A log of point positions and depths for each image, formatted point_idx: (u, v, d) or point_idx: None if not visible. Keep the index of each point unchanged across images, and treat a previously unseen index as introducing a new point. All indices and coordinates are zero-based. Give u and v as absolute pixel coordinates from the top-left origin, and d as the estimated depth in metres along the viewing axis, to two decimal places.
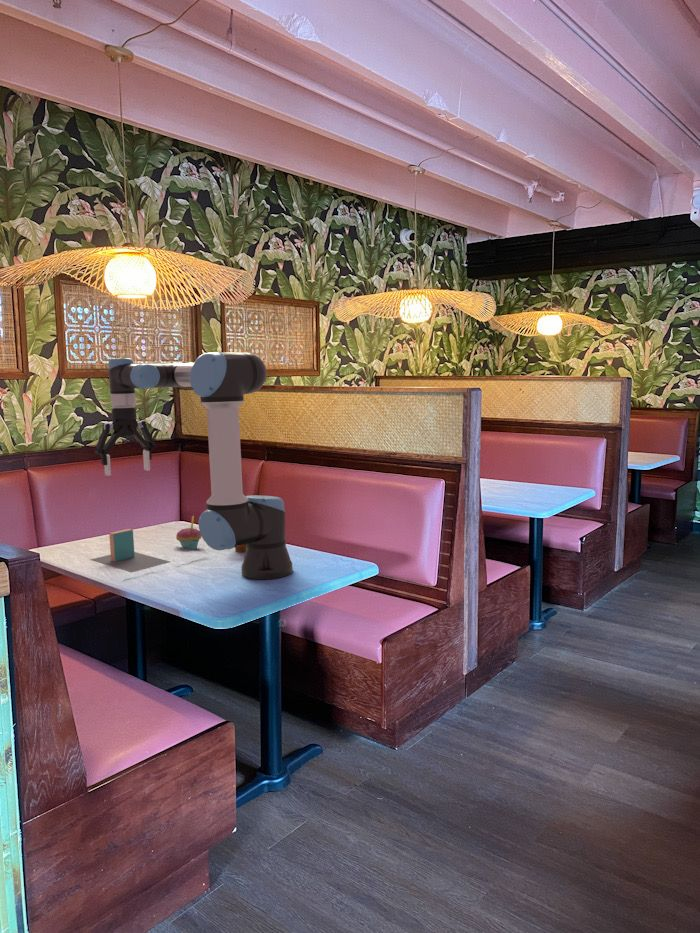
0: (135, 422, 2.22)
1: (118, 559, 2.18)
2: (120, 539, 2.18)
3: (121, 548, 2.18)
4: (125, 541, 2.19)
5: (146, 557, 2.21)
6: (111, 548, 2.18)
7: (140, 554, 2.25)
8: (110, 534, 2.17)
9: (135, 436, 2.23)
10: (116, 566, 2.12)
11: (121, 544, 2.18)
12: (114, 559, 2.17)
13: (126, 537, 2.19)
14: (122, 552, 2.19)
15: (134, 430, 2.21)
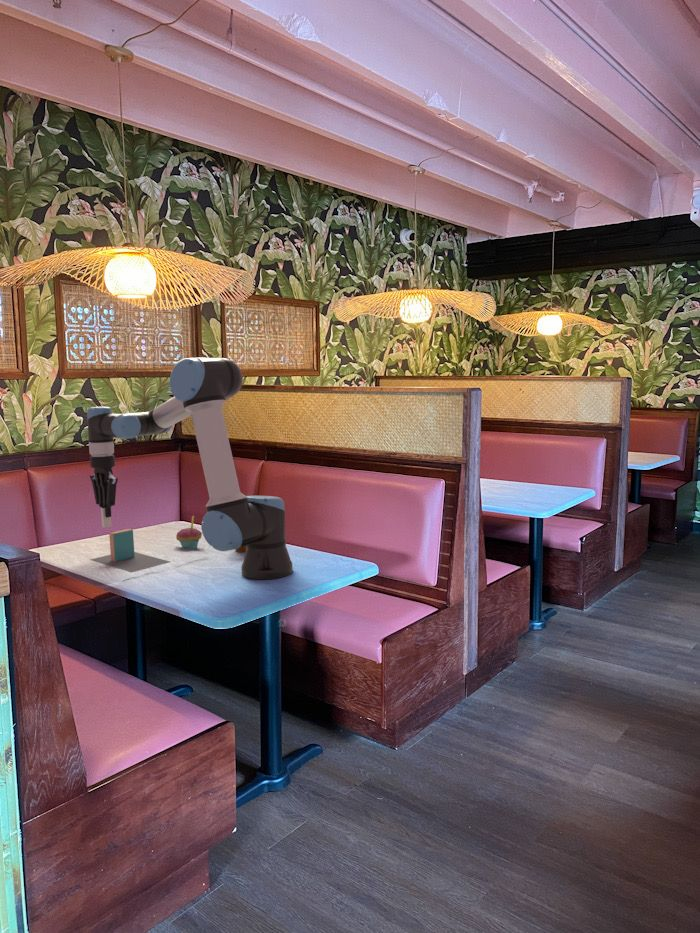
0: (106, 472, 2.19)
1: (118, 559, 2.18)
2: (120, 539, 2.18)
3: (121, 548, 2.18)
4: (125, 541, 2.19)
5: (146, 557, 2.21)
6: (111, 548, 2.18)
7: (140, 554, 2.25)
8: (110, 534, 2.17)
9: None
10: (116, 566, 2.12)
11: (121, 544, 2.18)
12: (114, 559, 2.17)
13: (126, 537, 2.19)
14: (122, 552, 2.19)
15: (101, 480, 2.20)
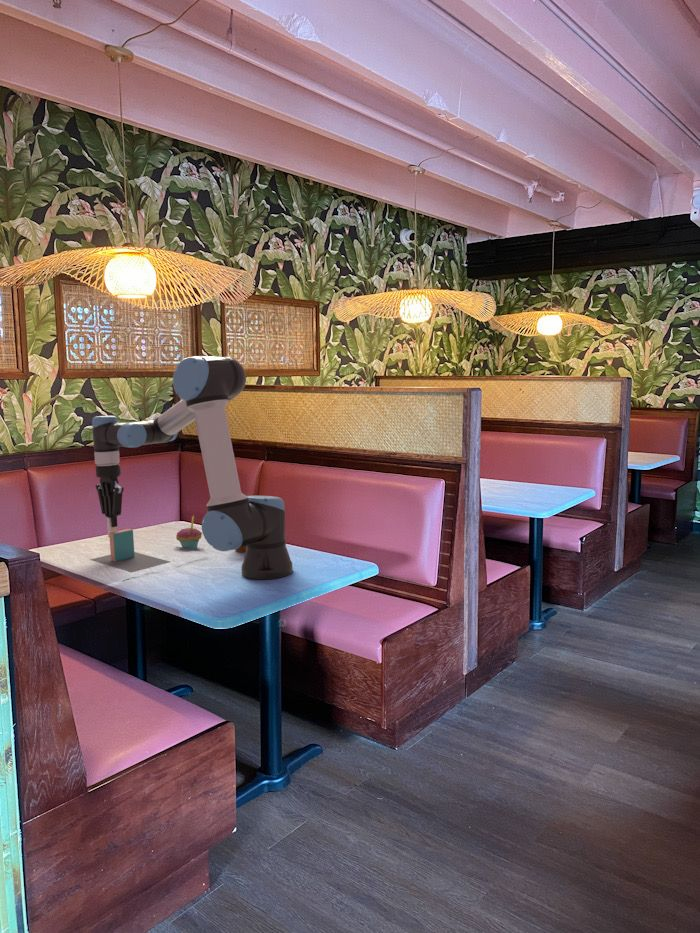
0: (111, 482, 2.17)
1: (118, 559, 2.18)
2: (120, 539, 2.18)
3: (121, 548, 2.18)
4: (125, 541, 2.19)
5: (146, 557, 2.21)
6: (111, 548, 2.18)
7: (140, 554, 2.25)
8: (110, 534, 2.17)
9: None
10: (116, 566, 2.12)
11: (121, 544, 2.18)
12: (114, 559, 2.17)
13: (126, 537, 2.19)
14: (122, 552, 2.19)
15: (106, 490, 2.19)
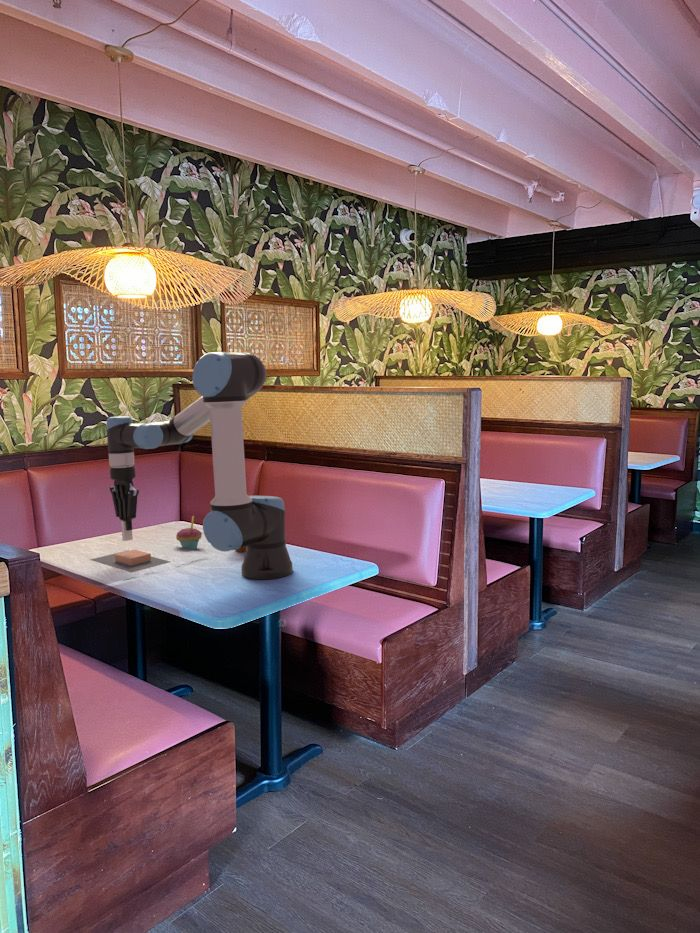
0: (126, 484, 2.12)
1: None
2: None
3: None
4: None
5: None
6: (121, 557, 2.14)
7: None
8: (130, 560, 2.11)
9: None
10: (116, 566, 2.12)
11: None
12: (116, 561, 2.17)
13: None
14: None
15: (121, 492, 2.13)
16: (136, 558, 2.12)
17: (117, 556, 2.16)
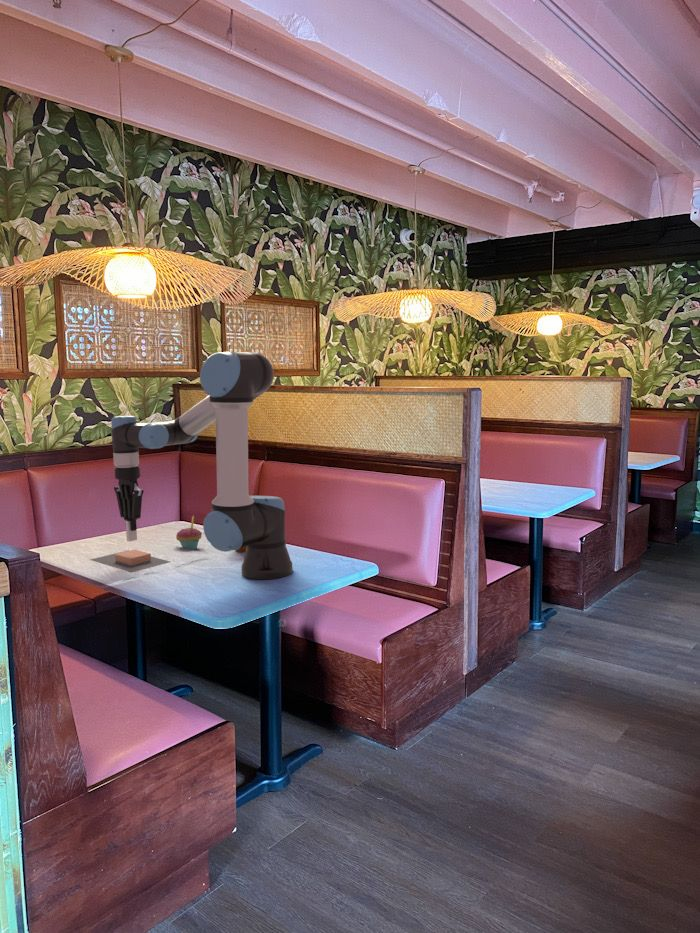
0: (131, 484, 2.10)
1: None
2: None
3: None
4: None
5: None
6: (121, 557, 2.14)
7: None
8: (130, 560, 2.11)
9: None
10: (116, 566, 2.12)
11: None
12: (116, 561, 2.17)
13: None
14: None
15: (126, 492, 2.11)
16: (136, 558, 2.12)
17: (117, 556, 2.16)
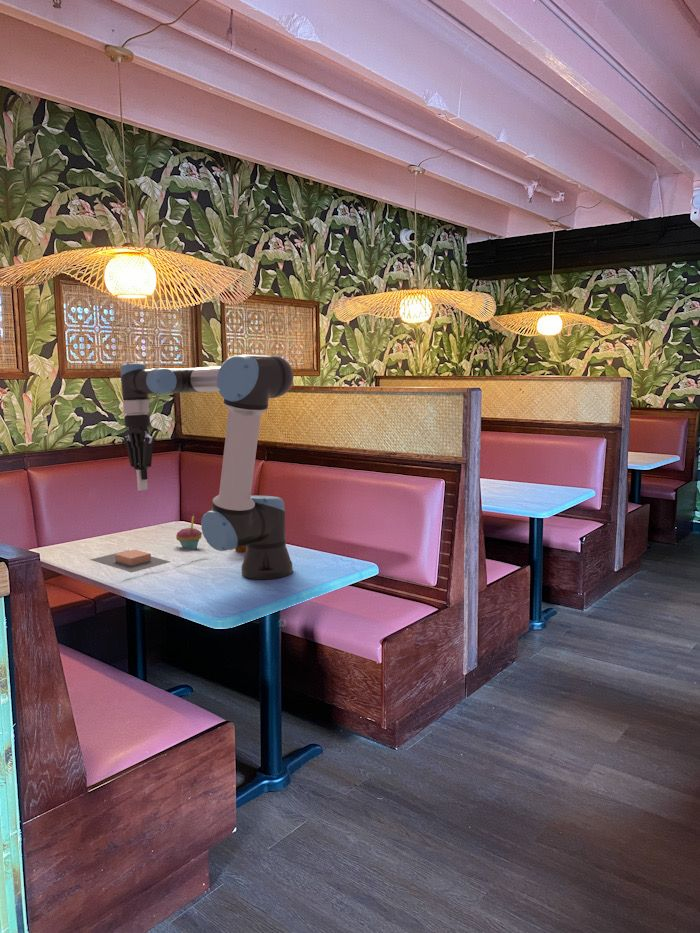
0: (141, 431, 2.09)
1: None
2: None
3: None
4: None
5: None
6: (121, 557, 2.14)
7: None
8: (130, 560, 2.11)
9: None
10: (116, 566, 2.12)
11: None
12: (116, 561, 2.17)
13: None
14: None
15: (136, 440, 2.10)
16: (136, 558, 2.12)
17: (117, 556, 2.16)
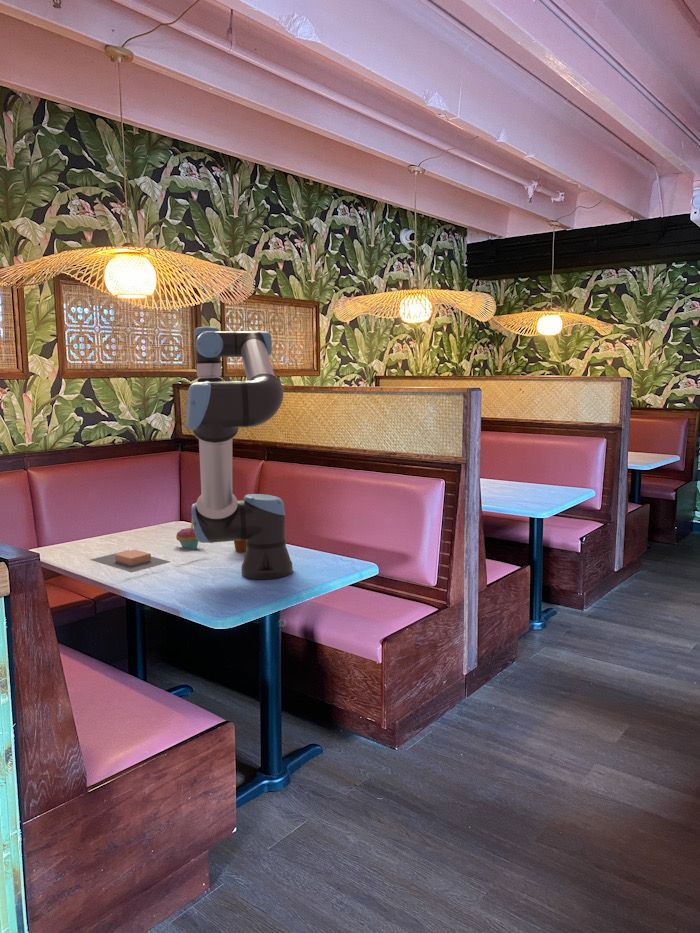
0: None
1: None
2: None
3: None
4: None
5: None
6: (121, 557, 2.14)
7: None
8: (130, 560, 2.11)
9: None
10: (116, 566, 2.12)
11: None
12: (116, 561, 2.17)
13: None
14: None
15: None
16: (136, 558, 2.12)
17: (117, 556, 2.16)
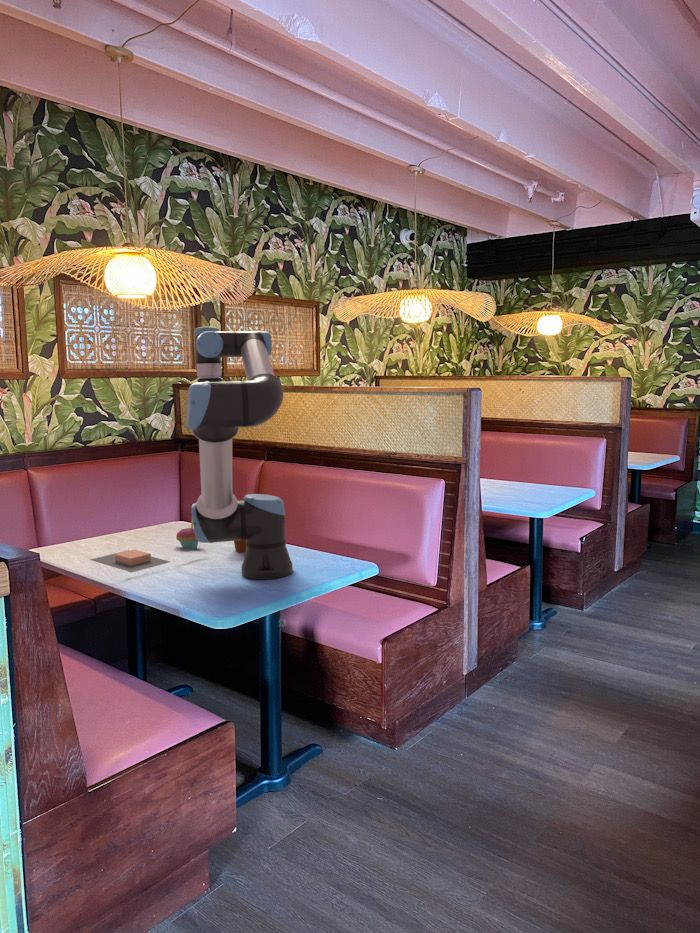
0: None
1: None
2: None
3: None
4: None
5: None
6: (121, 557, 2.14)
7: None
8: (130, 560, 2.11)
9: None
10: (116, 566, 2.12)
11: None
12: (116, 561, 2.17)
13: None
14: None
15: None
16: (136, 558, 2.12)
17: (117, 556, 2.16)
